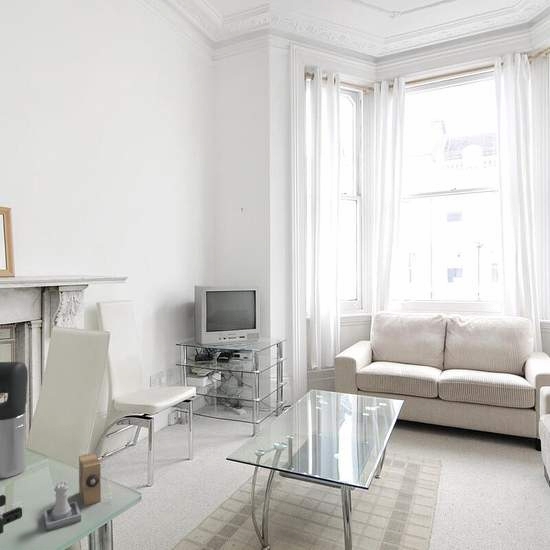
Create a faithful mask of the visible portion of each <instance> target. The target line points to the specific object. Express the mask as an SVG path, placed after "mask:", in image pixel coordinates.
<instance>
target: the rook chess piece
mask: <svg viewBox="0 0 550 550" xmlns="http://www.w3.org/2000/svg"><path fill="white" fill-rule="evenodd" d="M69 488H70V486H69V485H68V482H66V481H61V482H58V483H57V484H56V485H55V486H54V489H53V490H54V492H55V495H54V497H55V505H54V510H53V511H52V519H53V520H54V521H57V520H60V519H64V518H67V517H70V515H71V514H72V512H71V507H70V506H69V503H70V502H69V501H68V494H69V492H68V490H69Z"/></svg>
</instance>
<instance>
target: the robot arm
mask: <svg viewBox="0 0 550 550" xmlns="http://www.w3.org/2000/svg"><path fill="white" fill-rule="evenodd" d="M28 376H29V372H28V368H27V365H26V364H25V363H24V362H23V361H0V394H7V398H6V400H5V401H2V402H0V479H7V478H11V477H14V476H17V475H19V474H21V473H23V472H24V471H25V470H26V467H27V466H26V465H27V462H26V460H27V459H26V458H27V457H26V455H27V454H26V452H27V451H26V449H27V448H26V406H27V401H28V398H27V397H28V380H29V379H28ZM6 501H7V499H6V495H5V494H2V495H0V507H4V506H5V505H6V503H7V502H6ZM22 517H23V509H22V507H20V506H18V507H15V508H13V509H11V510H9V511H5V512H4V513H2V514H0V535H1V534H3V533H4V526H5V525H7V524H10V523H13V522H15V521H17V520H20V519H21V518H22Z"/></svg>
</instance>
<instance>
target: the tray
mask: <svg viewBox="0 0 550 550" xmlns="http://www.w3.org/2000/svg"><path fill="white" fill-rule="evenodd" d="M68 503H69V506H70V507H71V512H72V514H71V515H70V517H67V518H64V519H60V520H57V521H54V520H53V519H52V511H53V510H54V507H55V506H54V507H49V508H46V509H43V520H44V525H45V530H46V532H48V531H52V530H56V529H58V528H62V527H65V526H68V525H71V524H76V523H79V522H81V521H82V513H81V511H80V508H79V506H78V502H77V500H74V501H72V502H68Z"/></svg>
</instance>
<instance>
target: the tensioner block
mask: <svg viewBox="0 0 550 550" xmlns="http://www.w3.org/2000/svg"><path fill="white" fill-rule="evenodd" d="M101 486H102V485H101V463H100V461H99V458H98V456H97V455H96V453H95V452H92V453H86V454H82V455H78V493H79V496H80V498H81V501H82V504H83V506H84V507H85V506H89V505H92V504H95V503H96V504H97V503H100V502H101V499H102V498H101V492H102V491H101Z"/></svg>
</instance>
